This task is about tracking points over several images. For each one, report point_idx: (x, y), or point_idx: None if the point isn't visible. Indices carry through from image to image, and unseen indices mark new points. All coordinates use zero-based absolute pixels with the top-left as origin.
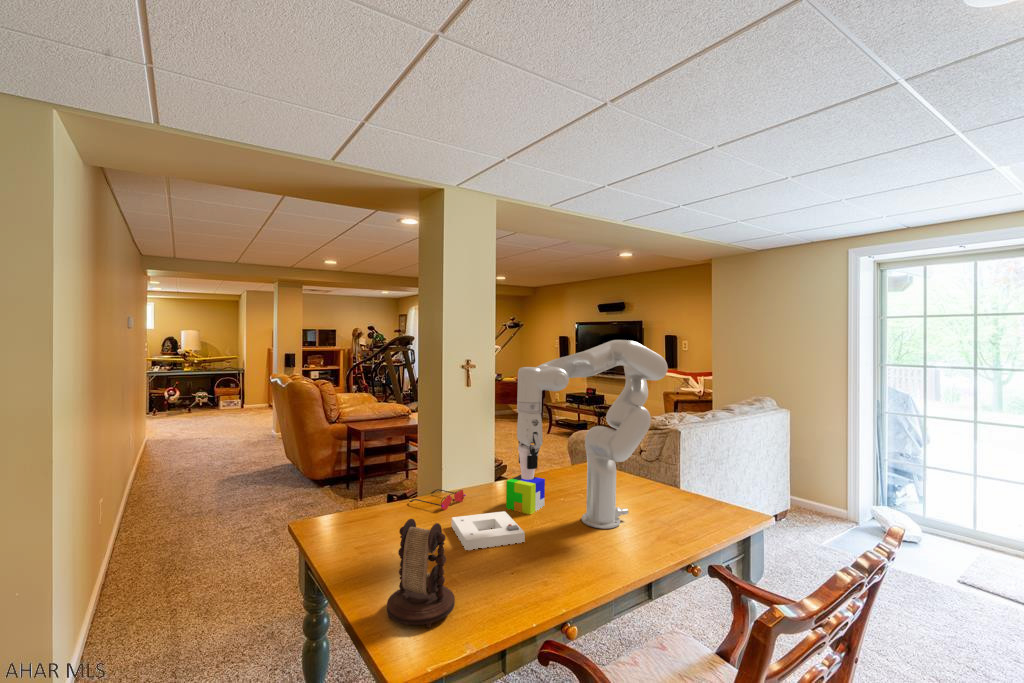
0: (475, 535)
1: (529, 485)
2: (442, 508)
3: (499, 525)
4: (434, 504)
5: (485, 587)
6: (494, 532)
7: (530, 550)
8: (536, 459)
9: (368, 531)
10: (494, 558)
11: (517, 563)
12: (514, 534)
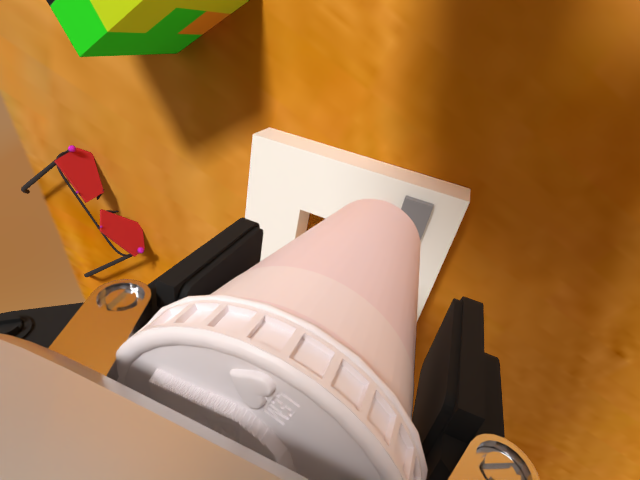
0: None
1: None
2: (143, 244)
3: None
4: (125, 258)
5: (616, 436)
6: None
7: (539, 214)
8: (476, 381)
9: None
10: (496, 327)
11: (580, 305)
12: (453, 238)
